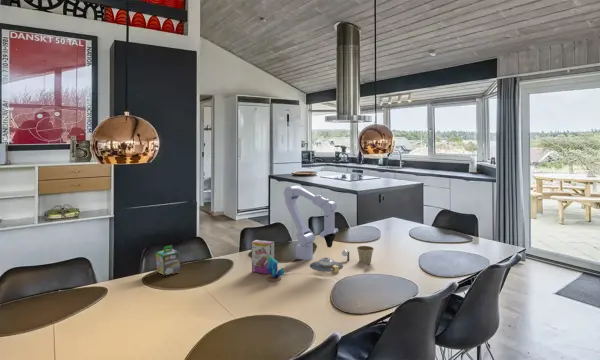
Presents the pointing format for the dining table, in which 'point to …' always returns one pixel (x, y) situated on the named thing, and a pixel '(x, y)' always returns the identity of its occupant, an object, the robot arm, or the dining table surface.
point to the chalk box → (168, 261)
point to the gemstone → (274, 270)
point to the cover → (326, 262)
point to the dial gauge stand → (346, 254)
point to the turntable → (334, 268)
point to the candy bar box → (261, 255)
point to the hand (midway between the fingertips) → (329, 247)
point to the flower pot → (365, 254)
